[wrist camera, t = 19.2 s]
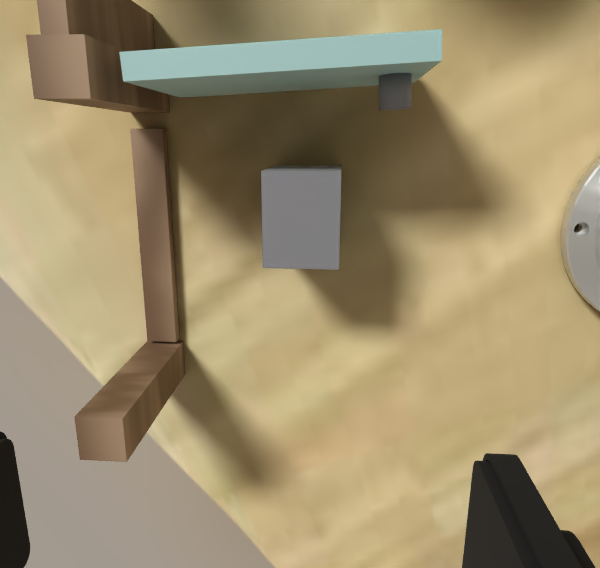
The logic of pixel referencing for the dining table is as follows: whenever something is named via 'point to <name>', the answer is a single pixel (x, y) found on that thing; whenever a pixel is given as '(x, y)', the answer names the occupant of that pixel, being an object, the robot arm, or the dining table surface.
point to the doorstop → (301, 216)
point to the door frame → (149, 198)
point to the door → (291, 66)
